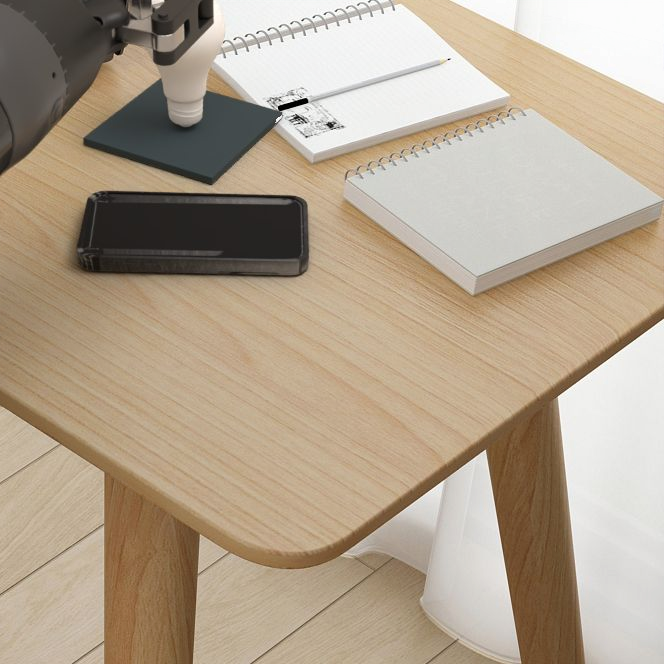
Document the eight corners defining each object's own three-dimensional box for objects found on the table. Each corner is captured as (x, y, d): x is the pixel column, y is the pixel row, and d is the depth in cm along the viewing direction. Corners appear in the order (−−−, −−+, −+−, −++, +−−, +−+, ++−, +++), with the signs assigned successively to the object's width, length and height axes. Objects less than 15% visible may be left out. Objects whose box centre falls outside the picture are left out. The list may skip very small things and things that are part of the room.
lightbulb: (226, 105, 94) (225, -30, 86) (225, 146, 89) (224, 7, 82) (148, 104, 93) (140, -32, 86) (142, 145, 88) (133, 5, 81)
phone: (89, 190, 82) (307, 195, 83) (90, 203, 83) (306, 208, 84) (74, 257, 76) (309, 262, 77) (75, 272, 77) (308, 276, 78)
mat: (83, 144, 89) (82, 137, 89) (161, 83, 97) (161, 77, 97) (212, 185, 86) (211, 177, 86) (282, 118, 94) (282, 111, 93)
